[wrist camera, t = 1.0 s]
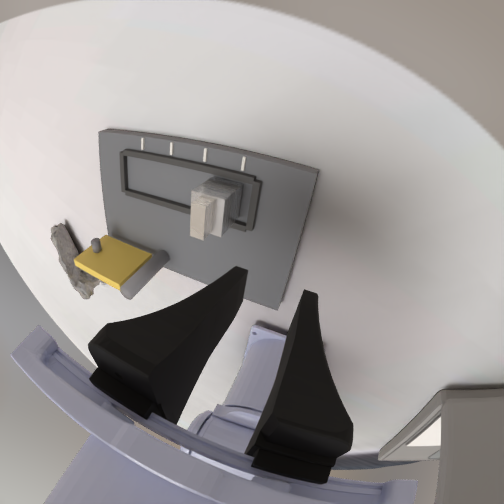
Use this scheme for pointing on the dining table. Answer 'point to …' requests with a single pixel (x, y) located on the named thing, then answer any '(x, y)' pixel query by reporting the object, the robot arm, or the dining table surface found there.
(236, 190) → the fader knob
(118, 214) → the console
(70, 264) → the stone
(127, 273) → the door
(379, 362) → the dining table surface
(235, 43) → the dining table surface
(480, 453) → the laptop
